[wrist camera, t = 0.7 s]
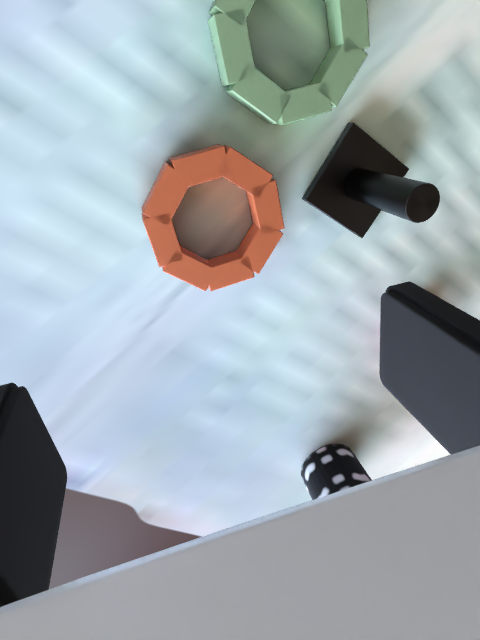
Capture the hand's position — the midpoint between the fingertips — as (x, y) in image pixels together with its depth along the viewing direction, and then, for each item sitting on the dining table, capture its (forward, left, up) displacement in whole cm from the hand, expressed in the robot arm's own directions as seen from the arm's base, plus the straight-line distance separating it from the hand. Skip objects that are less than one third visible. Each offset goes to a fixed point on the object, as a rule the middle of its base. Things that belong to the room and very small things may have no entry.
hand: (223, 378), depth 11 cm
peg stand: (+17, +11, -30) cm, 36 cm away
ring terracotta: (+6, +1, -30) cm, 31 cm away
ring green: (+4, +17, -30) cm, 34 cm away
